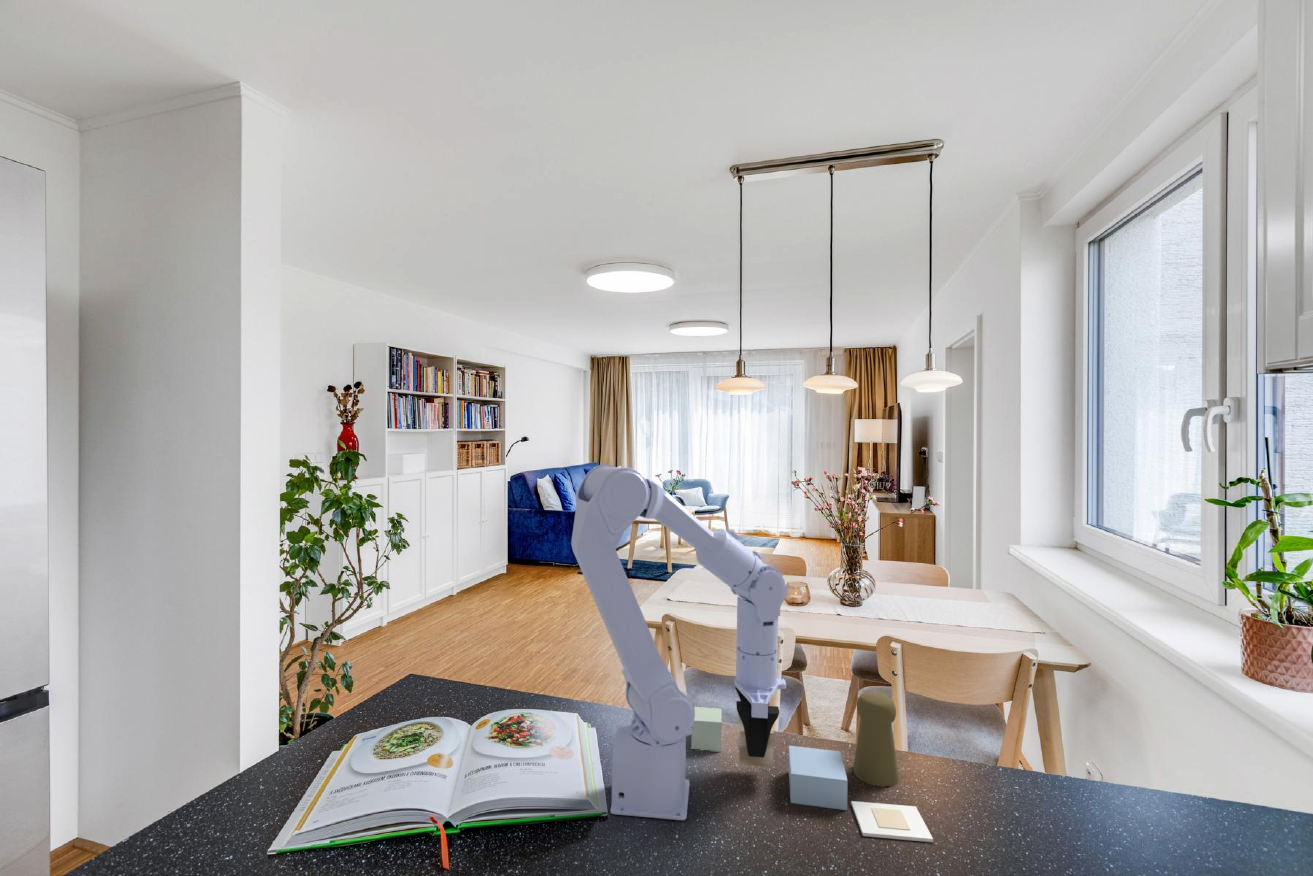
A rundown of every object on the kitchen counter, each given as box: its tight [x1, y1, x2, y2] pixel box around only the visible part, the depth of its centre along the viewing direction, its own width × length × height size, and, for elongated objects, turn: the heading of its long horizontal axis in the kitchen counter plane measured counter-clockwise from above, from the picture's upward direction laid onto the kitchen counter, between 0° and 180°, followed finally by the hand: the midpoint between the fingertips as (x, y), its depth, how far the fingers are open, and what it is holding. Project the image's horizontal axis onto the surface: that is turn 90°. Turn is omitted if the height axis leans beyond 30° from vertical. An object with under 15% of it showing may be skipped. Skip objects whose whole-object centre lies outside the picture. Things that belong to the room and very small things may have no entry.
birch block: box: [737, 715, 775, 768], centre depth 79 cm, size 4×4×4 cm
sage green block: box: [690, 706, 723, 753], centre depth 88 cm, size 4×4×4 cm
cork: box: [852, 691, 900, 788], centre depth 80 cm, size 6×6×11 cm
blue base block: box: [788, 745, 848, 811], centre depth 76 cm, size 7×7×4 cm
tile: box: [850, 800, 934, 843], centre depth 70 cm, size 8×6×1 cm
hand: (755, 745), depth 79 cm, fingers closed on birch block, 4 cm apart
